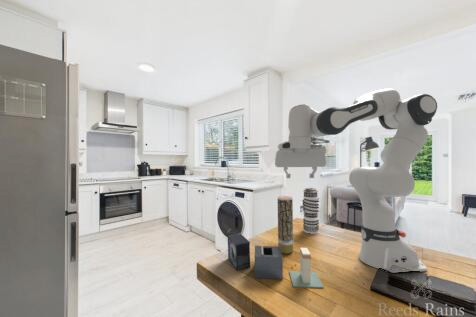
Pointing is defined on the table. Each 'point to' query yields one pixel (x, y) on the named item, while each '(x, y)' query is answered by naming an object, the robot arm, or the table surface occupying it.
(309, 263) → the white block
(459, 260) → the table surface
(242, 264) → the small box
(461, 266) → the table surface
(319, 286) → the mat
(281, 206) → the paper tube
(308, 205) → the black white cylinder
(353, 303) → the table surface
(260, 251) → the dispenser
